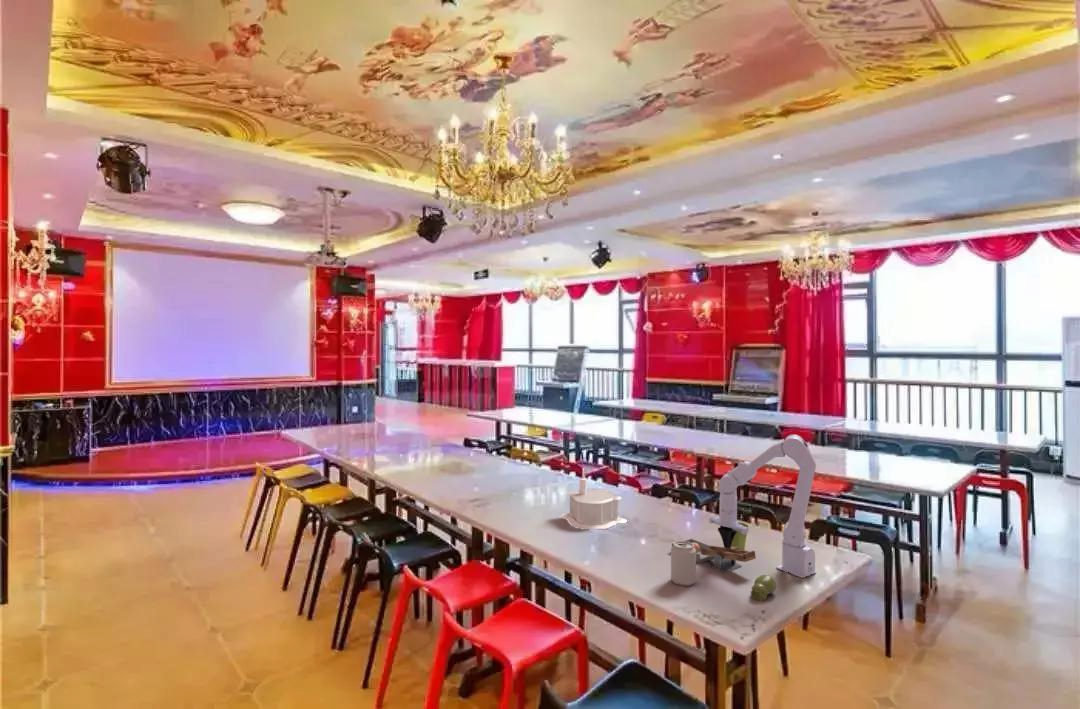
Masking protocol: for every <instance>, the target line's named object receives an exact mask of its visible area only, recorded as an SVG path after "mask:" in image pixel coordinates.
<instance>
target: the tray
mask: <svg viewBox="0 0 1080 709" xmlns="http://www.w3.org/2000/svg"><path fill="white" fill-rule="evenodd" d="M682 541H686V542H690V543H697V544H698V545H699V547H700V550H699V552H698V553H696V564H701V563H703V562H707V561H710V560H714V556H708V555H702V554H701V548H704V549H710V546H712V545H711V544H707V543H705V542H703V541H700V540H697V539H695V538H687V539H683V540H682ZM673 543H674V542H673ZM673 543H671V547H672V546H673Z"/></svg>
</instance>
